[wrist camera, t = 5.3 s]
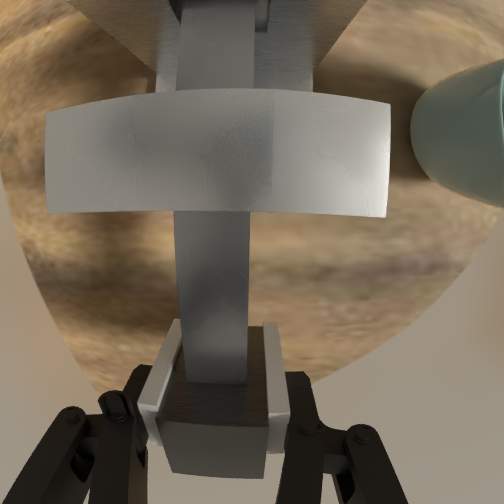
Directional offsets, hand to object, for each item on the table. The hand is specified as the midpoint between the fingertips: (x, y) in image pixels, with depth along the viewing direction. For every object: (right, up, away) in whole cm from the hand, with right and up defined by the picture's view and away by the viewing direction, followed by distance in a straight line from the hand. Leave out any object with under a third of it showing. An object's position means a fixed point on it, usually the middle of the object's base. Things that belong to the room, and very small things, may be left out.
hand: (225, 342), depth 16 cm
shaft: (0, +7, -2) cm, 8 cm away
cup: (+15, +13, +1) cm, 20 cm away
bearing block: (0, +14, +1) cm, 14 cm away
